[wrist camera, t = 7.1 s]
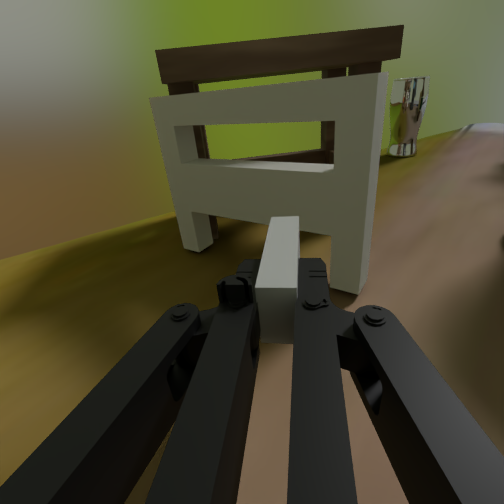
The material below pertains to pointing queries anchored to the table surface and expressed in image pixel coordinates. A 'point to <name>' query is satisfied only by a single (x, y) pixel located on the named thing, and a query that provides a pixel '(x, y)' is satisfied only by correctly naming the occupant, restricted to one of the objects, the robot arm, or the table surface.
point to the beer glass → (407, 114)
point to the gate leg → (281, 165)
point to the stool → (279, 73)
